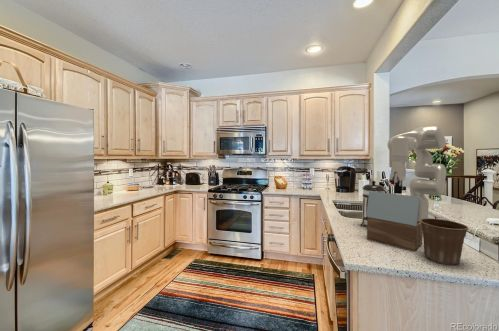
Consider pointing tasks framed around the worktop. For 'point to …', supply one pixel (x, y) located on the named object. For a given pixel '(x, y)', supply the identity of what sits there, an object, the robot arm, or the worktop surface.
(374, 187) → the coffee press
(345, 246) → the worktop surface
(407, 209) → the lid
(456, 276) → the worktop surface
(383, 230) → the box
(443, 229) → the plant pot
